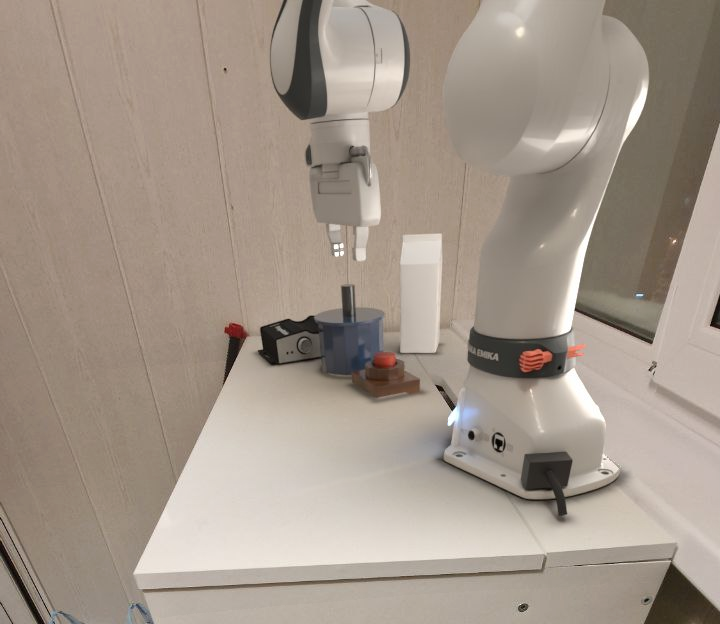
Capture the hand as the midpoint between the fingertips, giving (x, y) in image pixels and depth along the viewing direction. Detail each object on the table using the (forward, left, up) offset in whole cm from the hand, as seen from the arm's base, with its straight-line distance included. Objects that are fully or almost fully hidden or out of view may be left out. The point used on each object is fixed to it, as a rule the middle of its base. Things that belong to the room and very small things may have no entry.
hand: (348, 258), depth 93 cm
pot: (0, 0, -17) cm, 17 cm away
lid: (0, 0, -9) cm, 9 cm away
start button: (-14, 0, -14) cm, 19 cm away
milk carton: (+5, -17, -18) cm, 25 cm away
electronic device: (+16, +3, -18) cm, 24 cm away
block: (-14, 0, -17) cm, 22 cm away
